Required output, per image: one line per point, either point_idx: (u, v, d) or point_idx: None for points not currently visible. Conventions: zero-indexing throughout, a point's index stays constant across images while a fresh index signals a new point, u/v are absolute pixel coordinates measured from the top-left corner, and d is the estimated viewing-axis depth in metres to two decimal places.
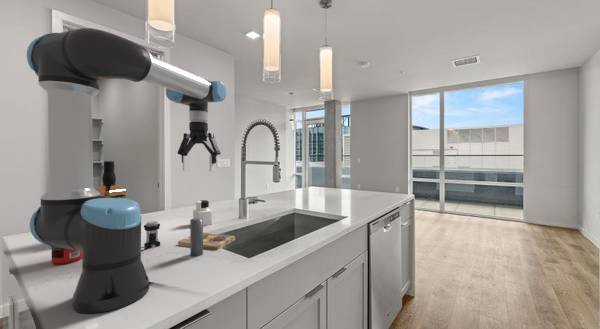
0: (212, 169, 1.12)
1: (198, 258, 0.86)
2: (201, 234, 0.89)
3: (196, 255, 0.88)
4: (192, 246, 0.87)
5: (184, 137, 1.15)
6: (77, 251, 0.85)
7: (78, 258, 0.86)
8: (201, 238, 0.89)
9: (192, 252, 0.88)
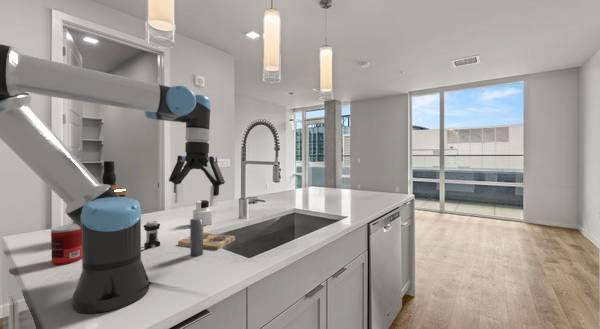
0: (213, 203, 0.87)
1: (198, 258, 0.86)
2: (201, 234, 0.89)
3: (196, 255, 0.88)
4: (192, 246, 0.87)
5: (178, 160, 0.90)
6: (77, 251, 0.85)
7: (78, 258, 0.86)
8: (201, 238, 0.89)
9: (192, 252, 0.88)
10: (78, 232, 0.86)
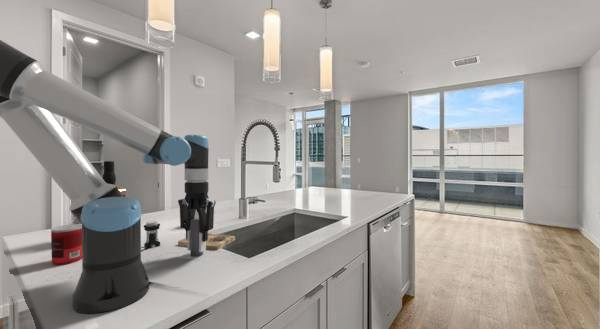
0: (202, 248, 0.88)
1: (198, 258, 0.86)
2: None
3: (196, 255, 0.88)
4: (192, 246, 0.87)
5: (180, 204, 0.89)
6: (77, 251, 0.85)
7: (78, 258, 0.86)
8: None
9: (192, 252, 0.88)
10: (79, 232, 0.86)
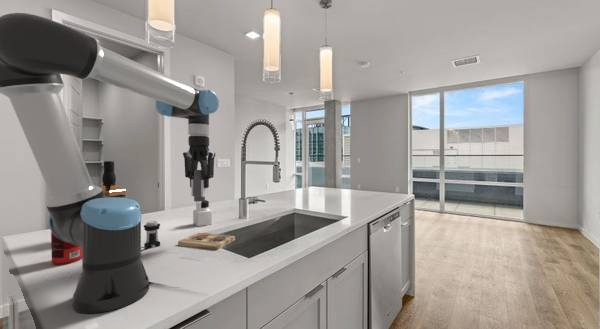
0: (204, 194, 1.01)
1: (198, 258, 0.86)
2: None
3: (199, 200, 1.01)
4: (196, 192, 1.01)
5: (185, 157, 1.03)
6: (77, 251, 0.85)
7: (78, 258, 0.86)
8: None
9: (195, 198, 1.01)
10: None
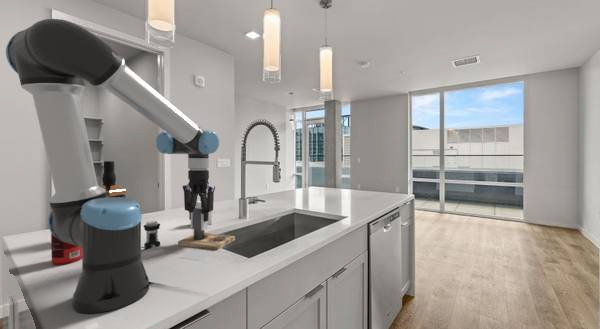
0: (204, 227, 1.02)
1: (198, 258, 0.86)
2: None
3: (198, 239, 1.02)
4: (195, 231, 1.01)
5: (184, 190, 1.03)
6: (77, 251, 0.85)
7: (78, 258, 0.86)
8: None
9: (195, 236, 1.02)
10: None
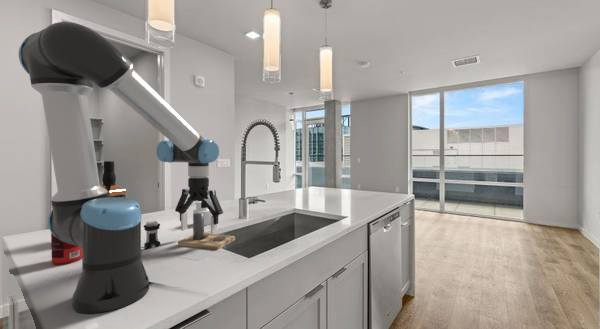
0: (214, 230, 1.01)
1: (198, 258, 0.86)
2: (202, 226, 1.03)
3: None
4: (195, 236, 1.01)
5: (182, 193, 1.03)
6: (77, 251, 0.85)
7: (78, 258, 0.86)
8: (202, 229, 1.03)
9: None
10: None
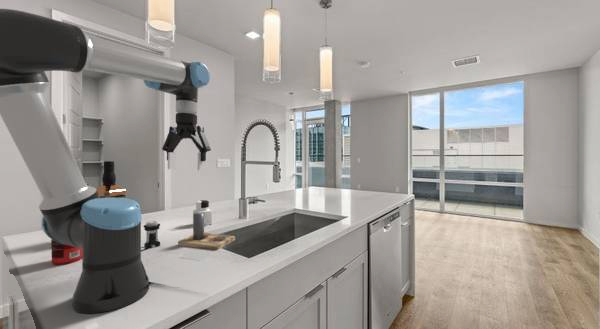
0: (201, 168, 0.97)
1: (198, 258, 0.86)
2: (202, 226, 1.03)
3: None
4: (195, 236, 1.01)
5: (170, 131, 1.00)
6: (77, 251, 0.85)
7: (78, 258, 0.86)
8: (202, 229, 1.03)
9: None
10: None
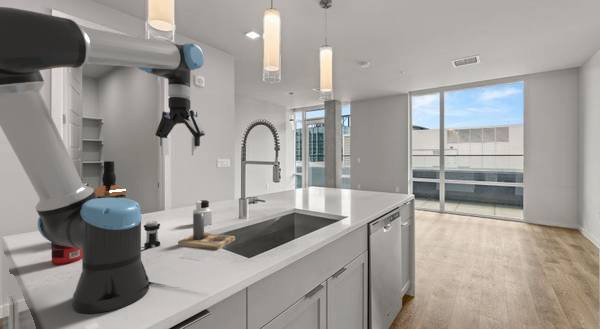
0: (195, 153, 0.96)
1: (198, 258, 0.86)
2: (202, 226, 1.03)
3: None
4: (195, 236, 1.01)
5: (163, 116, 0.99)
6: (77, 251, 0.85)
7: (78, 258, 0.86)
8: (202, 229, 1.03)
9: None
10: None
